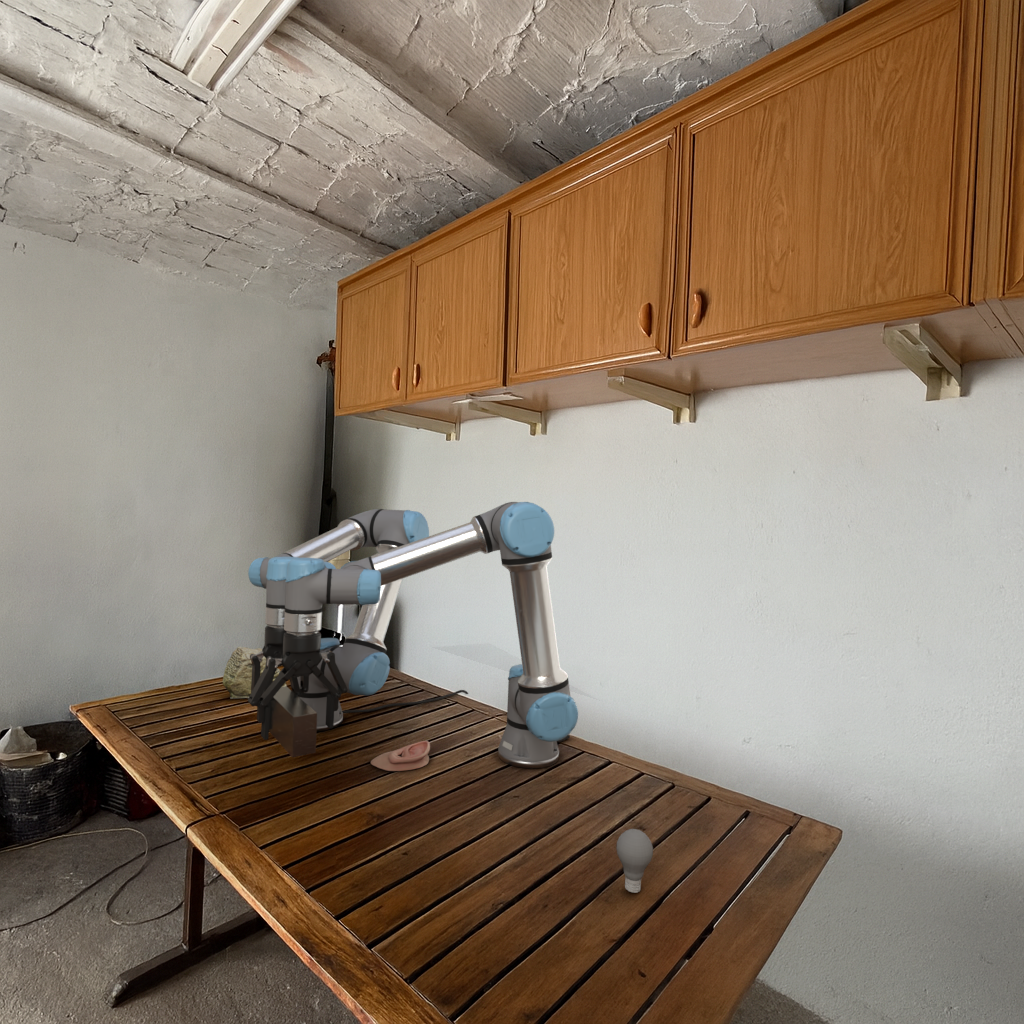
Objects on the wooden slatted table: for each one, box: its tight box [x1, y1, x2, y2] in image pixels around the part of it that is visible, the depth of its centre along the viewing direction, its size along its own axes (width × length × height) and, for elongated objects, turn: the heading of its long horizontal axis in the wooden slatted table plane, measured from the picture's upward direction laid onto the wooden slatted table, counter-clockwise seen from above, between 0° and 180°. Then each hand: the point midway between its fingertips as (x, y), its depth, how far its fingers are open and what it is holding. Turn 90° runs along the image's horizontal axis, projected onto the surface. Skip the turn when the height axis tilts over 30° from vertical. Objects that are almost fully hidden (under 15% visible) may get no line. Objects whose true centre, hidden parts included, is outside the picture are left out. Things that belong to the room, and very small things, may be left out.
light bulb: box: [615, 828, 654, 894], centre depth 106 cm, size 6×6×10 cm
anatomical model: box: [370, 740, 431, 772], centre depth 153 cm, size 13×4×12 cm
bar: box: [269, 686, 317, 759], centre depth 139 cm, size 21×5×8 cm, turn 36°
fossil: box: [222, 646, 288, 699], centre depth 198 cm, size 9×18×15 cm, turn 132°
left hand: (279, 725), depth 145 cm, fingers closed on bar, 5 cm apart
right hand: (298, 731), depth 134 cm, fingers open, 13 cm apart
